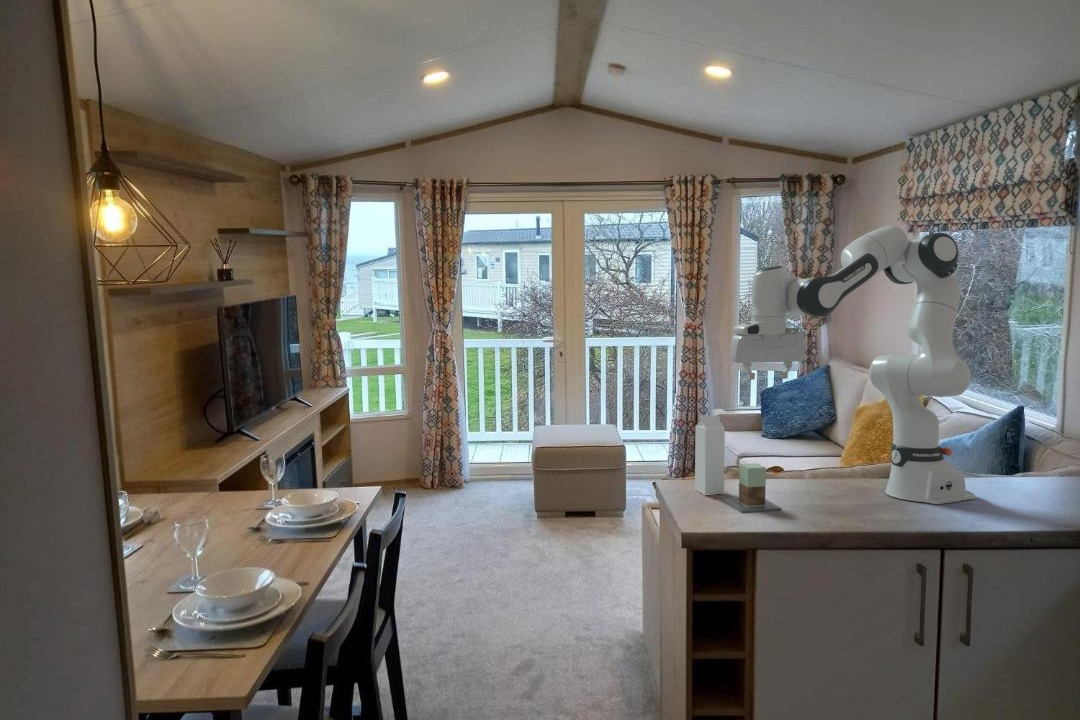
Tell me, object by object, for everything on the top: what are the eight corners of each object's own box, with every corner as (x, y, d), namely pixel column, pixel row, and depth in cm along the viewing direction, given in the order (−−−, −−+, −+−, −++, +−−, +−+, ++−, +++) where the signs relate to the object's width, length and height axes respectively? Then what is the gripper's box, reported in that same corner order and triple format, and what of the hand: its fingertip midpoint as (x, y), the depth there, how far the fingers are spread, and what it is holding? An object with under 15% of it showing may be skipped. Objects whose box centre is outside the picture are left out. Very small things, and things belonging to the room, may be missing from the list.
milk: (724, 494, 203) (725, 416, 201) (704, 496, 201) (706, 417, 199) (713, 489, 209) (714, 413, 207) (694, 490, 207) (695, 414, 205)
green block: (756, 481, 194) (756, 463, 193) (765, 486, 189) (765, 467, 189) (739, 482, 193) (739, 464, 193) (747, 487, 188) (748, 468, 188)
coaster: (761, 498, 198) (761, 496, 198) (781, 510, 187) (781, 507, 187) (723, 501, 196) (723, 498, 196) (741, 512, 185) (741, 510, 185)
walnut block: (756, 499, 194) (756, 481, 194) (765, 505, 189) (765, 486, 189) (738, 500, 193) (739, 482, 193) (747, 506, 189) (747, 487, 188)
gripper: (797, 326, 198) (796, 376, 199) (727, 327, 194) (727, 378, 195) (810, 327, 191) (809, 379, 192) (738, 328, 188) (737, 381, 189)
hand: (767, 379), depth 194 cm, fingers open, 8 cm apart
